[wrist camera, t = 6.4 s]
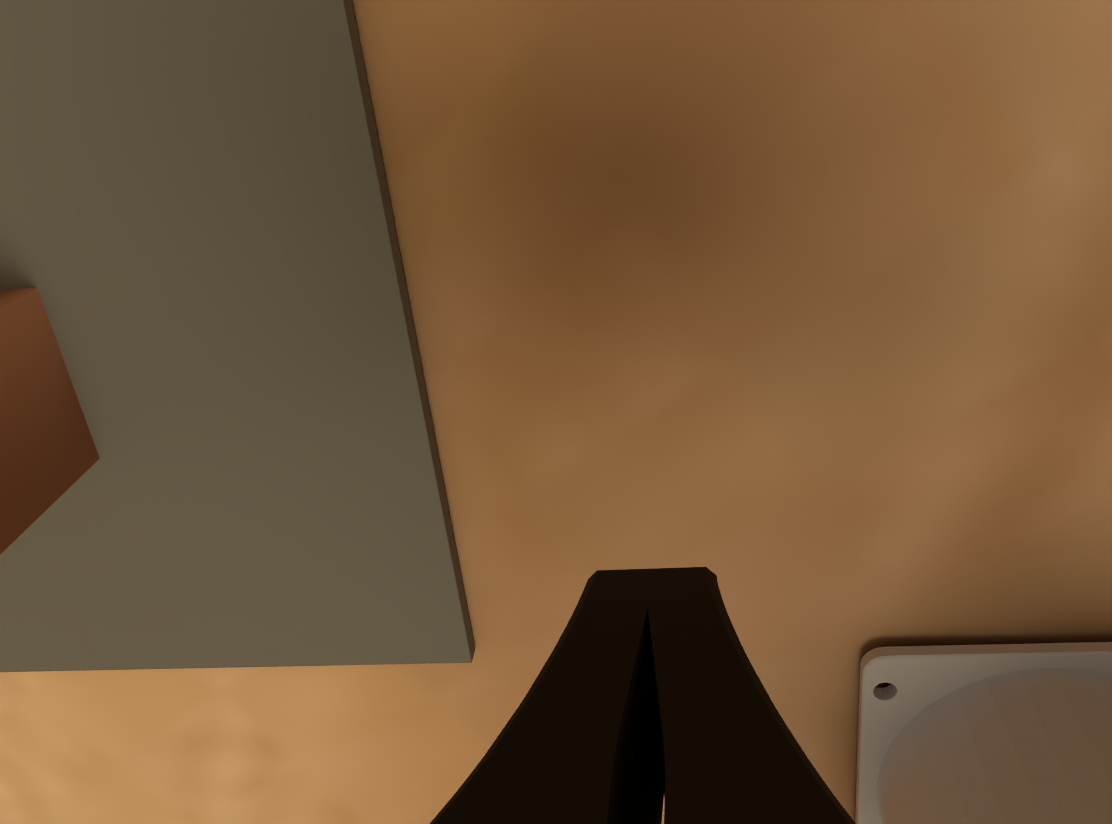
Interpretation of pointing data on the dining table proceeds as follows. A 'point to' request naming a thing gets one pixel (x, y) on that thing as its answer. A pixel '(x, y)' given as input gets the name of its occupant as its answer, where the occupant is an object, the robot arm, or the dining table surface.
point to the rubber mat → (219, 346)
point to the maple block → (35, 416)
